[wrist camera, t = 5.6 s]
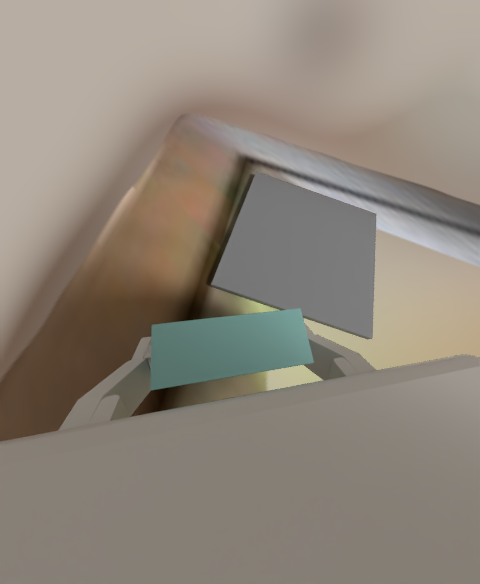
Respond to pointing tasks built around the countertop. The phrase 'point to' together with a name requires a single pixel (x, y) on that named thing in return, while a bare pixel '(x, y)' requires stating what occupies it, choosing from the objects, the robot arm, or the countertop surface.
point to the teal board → (227, 347)
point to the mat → (302, 255)
